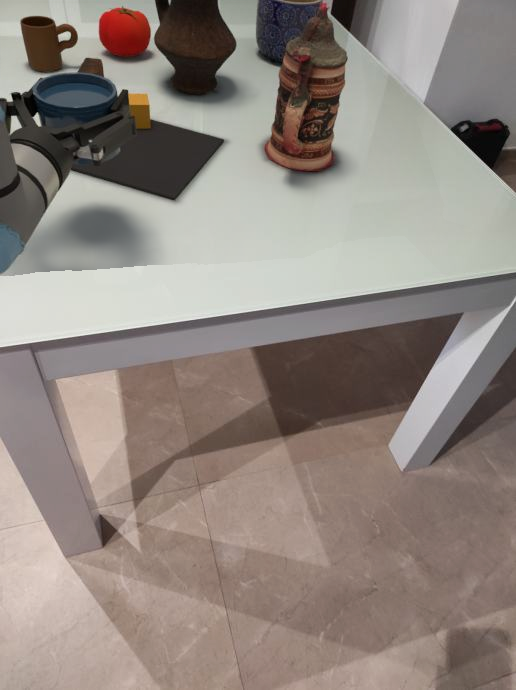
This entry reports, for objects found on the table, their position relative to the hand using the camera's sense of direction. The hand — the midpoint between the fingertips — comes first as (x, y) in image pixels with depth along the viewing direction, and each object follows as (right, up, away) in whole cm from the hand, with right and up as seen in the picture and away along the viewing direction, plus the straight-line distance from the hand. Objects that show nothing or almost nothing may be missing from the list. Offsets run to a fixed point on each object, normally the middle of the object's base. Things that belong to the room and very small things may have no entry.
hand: (85, 93), depth 74 cm
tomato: (-8, +38, +56) cm, 68 cm away
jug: (+9, +26, +49) cm, 56 cm away
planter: (+32, +43, +66) cm, 85 cm away
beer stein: (+33, +2, +32) cm, 45 cm away
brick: (-13, +21, +42) cm, 49 cm away
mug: (-23, +30, +47) cm, 61 cm away
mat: (+3, +1, +26) cm, 26 cm away
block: (0, +10, +33) cm, 34 cm away
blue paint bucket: (-1, -7, +2) cm, 7 cm away
